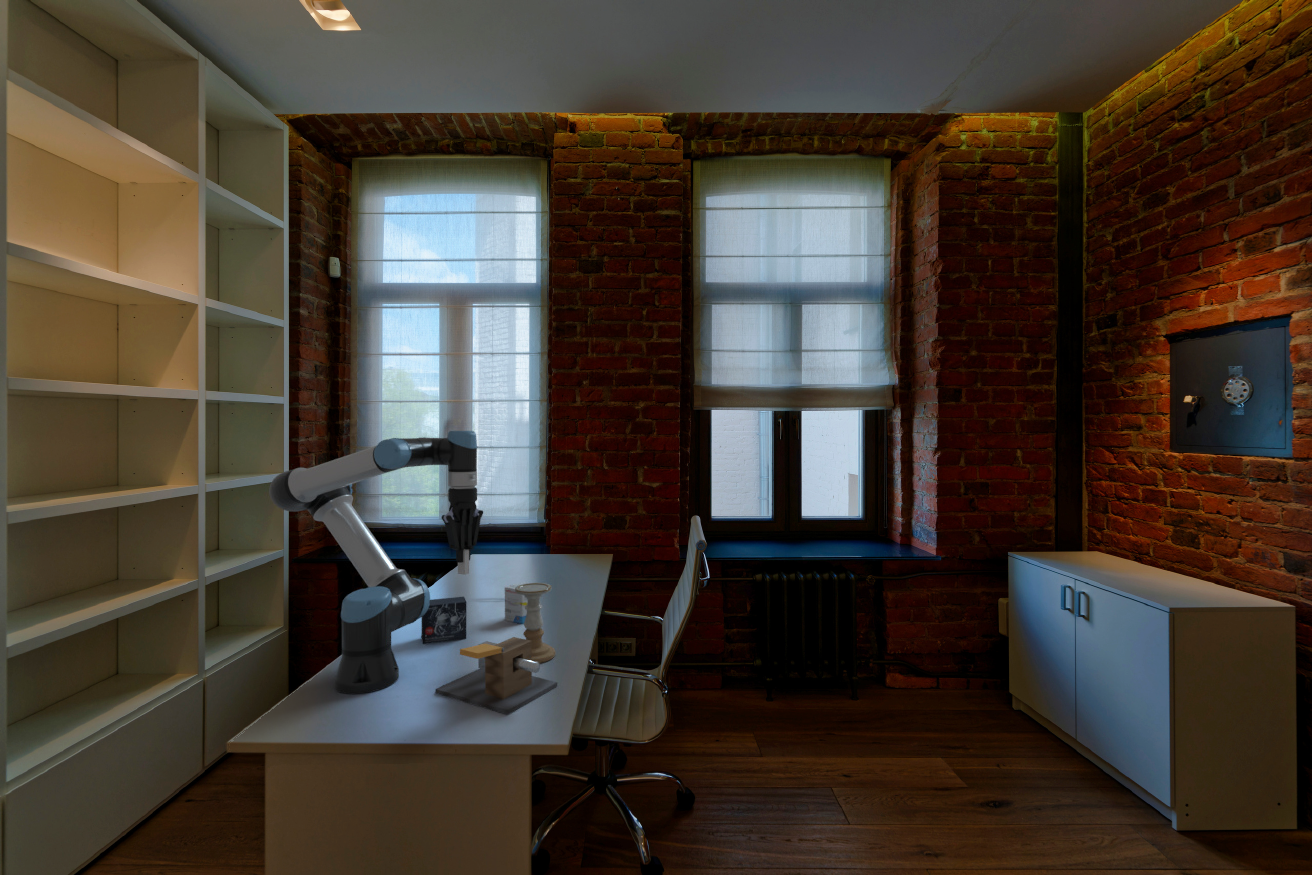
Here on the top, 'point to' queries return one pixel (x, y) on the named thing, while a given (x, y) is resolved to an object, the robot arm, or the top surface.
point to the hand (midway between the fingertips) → (463, 573)
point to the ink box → (515, 605)
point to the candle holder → (535, 620)
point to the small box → (444, 620)
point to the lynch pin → (514, 662)
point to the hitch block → (500, 681)
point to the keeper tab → (481, 651)
